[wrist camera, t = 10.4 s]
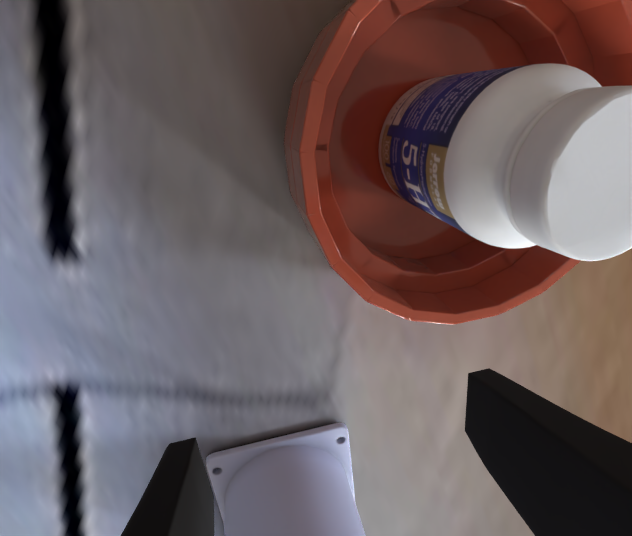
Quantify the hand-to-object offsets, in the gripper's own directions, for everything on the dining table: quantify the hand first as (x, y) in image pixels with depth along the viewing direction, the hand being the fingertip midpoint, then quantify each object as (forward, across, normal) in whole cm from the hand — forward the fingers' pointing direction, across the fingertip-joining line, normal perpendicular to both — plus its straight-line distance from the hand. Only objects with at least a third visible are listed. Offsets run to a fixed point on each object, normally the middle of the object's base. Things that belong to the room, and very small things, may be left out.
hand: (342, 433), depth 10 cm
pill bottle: (+9, -7, -6) cm, 13 cm away
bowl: (+9, -7, -6) cm, 13 cm away
